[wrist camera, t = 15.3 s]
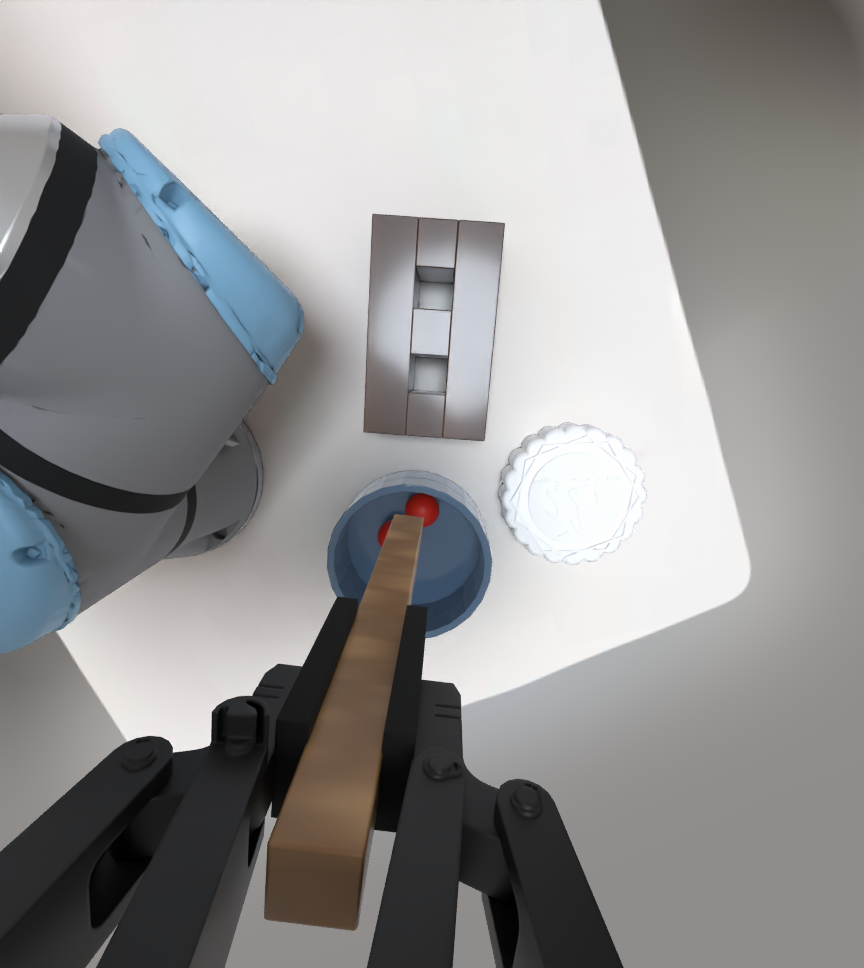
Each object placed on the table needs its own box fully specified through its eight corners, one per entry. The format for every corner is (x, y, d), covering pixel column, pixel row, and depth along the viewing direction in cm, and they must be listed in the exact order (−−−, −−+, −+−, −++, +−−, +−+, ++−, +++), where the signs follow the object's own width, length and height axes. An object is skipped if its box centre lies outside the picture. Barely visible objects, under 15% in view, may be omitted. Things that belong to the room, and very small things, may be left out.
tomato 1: (378, 519, 45) (368, 549, 44) (390, 510, 43) (380, 542, 42) (407, 531, 46) (398, 561, 45) (421, 523, 44) (412, 555, 42)
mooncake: (499, 555, 46) (503, 570, 43) (497, 425, 44) (501, 429, 40) (632, 551, 46) (647, 566, 42) (637, 418, 43) (654, 422, 40)
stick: (391, 541, 31) (262, 921, 9) (394, 513, 31) (266, 844, 9) (420, 545, 31) (356, 933, 9) (423, 517, 31) (364, 856, 9)
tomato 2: (407, 526, 45) (392, 511, 43) (424, 498, 46) (410, 482, 43) (434, 537, 43) (419, 522, 41) (450, 508, 44) (437, 492, 42)
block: (374, 424, 44) (363, 432, 38) (383, 236, 41) (372, 213, 35) (479, 432, 44) (484, 441, 38) (496, 244, 40) (505, 222, 35)
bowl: (340, 601, 48) (325, 633, 42) (344, 464, 45) (329, 478, 39) (479, 612, 47) (483, 645, 42) (492, 476, 45) (499, 491, 39)
